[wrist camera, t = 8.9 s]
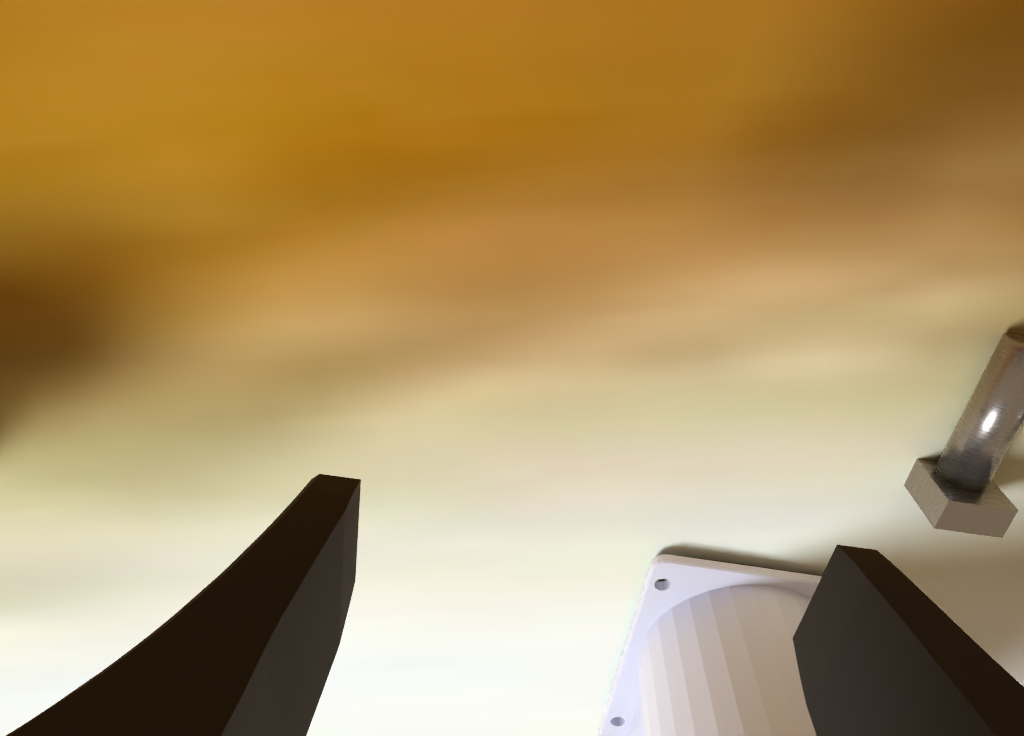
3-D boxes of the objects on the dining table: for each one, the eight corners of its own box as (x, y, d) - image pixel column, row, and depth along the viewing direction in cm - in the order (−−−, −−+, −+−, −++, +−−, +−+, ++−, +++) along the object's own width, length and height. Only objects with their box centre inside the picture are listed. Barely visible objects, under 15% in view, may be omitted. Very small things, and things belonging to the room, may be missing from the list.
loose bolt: (966, 493, 23) (1002, 537, 21) (904, 484, 23) (934, 528, 21) (1052, 338, 20) (1099, 373, 19) (981, 328, 20) (1023, 362, 19)
